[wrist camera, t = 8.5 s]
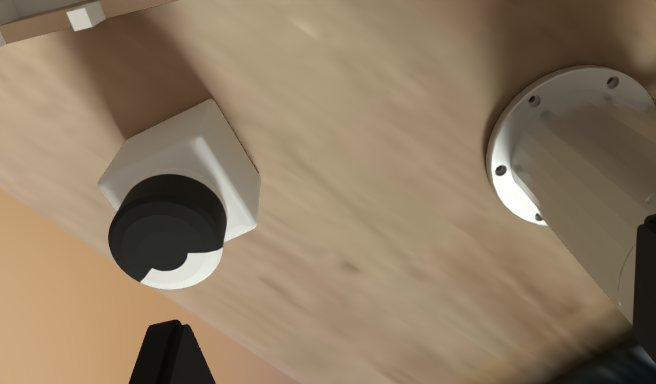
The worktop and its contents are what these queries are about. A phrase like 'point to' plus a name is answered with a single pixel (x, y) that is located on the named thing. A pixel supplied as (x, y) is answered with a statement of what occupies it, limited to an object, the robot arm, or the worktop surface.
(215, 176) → the medicine bottle
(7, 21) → the pitch
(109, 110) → the worktop surface
